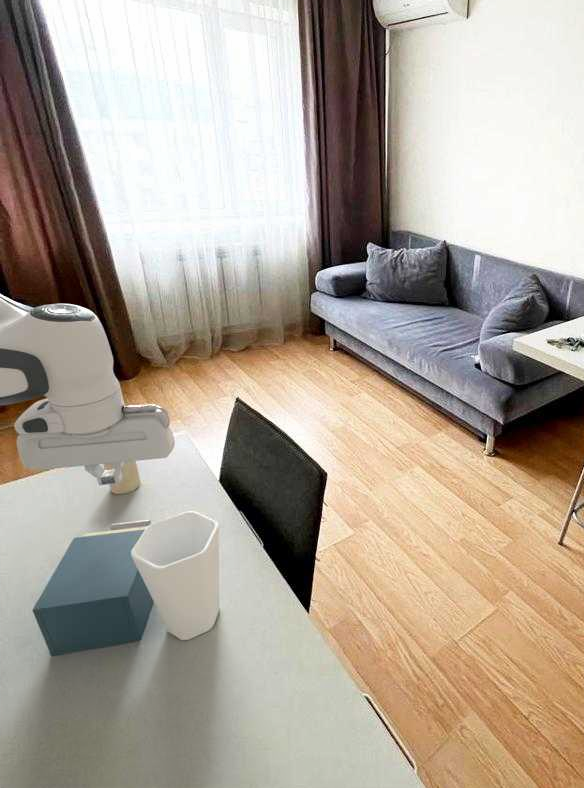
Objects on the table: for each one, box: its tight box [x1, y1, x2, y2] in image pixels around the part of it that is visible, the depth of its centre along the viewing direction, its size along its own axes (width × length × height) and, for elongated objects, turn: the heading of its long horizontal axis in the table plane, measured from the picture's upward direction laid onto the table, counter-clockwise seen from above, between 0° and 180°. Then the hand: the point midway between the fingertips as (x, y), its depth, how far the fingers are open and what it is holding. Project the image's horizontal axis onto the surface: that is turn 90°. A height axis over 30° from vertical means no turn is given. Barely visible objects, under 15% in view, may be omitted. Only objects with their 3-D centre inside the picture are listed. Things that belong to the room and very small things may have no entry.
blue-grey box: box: [32, 529, 155, 657], centre depth 77 cm, size 14×12×10 cm
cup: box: [131, 510, 221, 641], centre depth 74 cm, size 11×10×17 cm
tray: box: [82, 519, 152, 537], centre depth 81 cm, size 17×10×8 cm, turn 14°
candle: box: [102, 461, 141, 495], centre depth 103 cm, size 6×6×10 cm
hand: (111, 482), depth 80 cm, fingers closed
